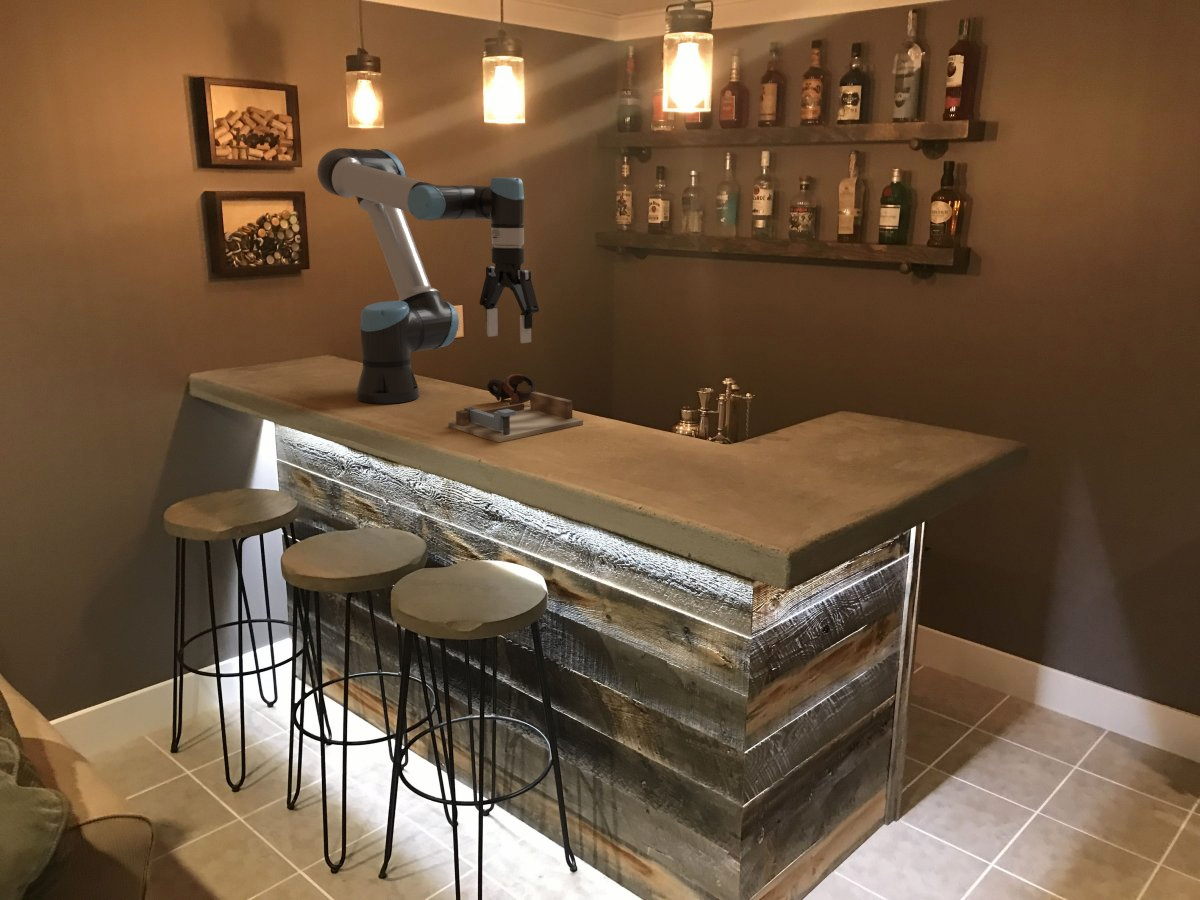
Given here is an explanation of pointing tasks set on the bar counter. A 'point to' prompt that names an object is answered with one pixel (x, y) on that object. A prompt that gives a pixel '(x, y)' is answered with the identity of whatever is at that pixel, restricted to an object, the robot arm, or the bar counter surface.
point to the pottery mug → (511, 388)
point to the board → (523, 419)
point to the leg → (489, 417)
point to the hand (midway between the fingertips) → (508, 339)
